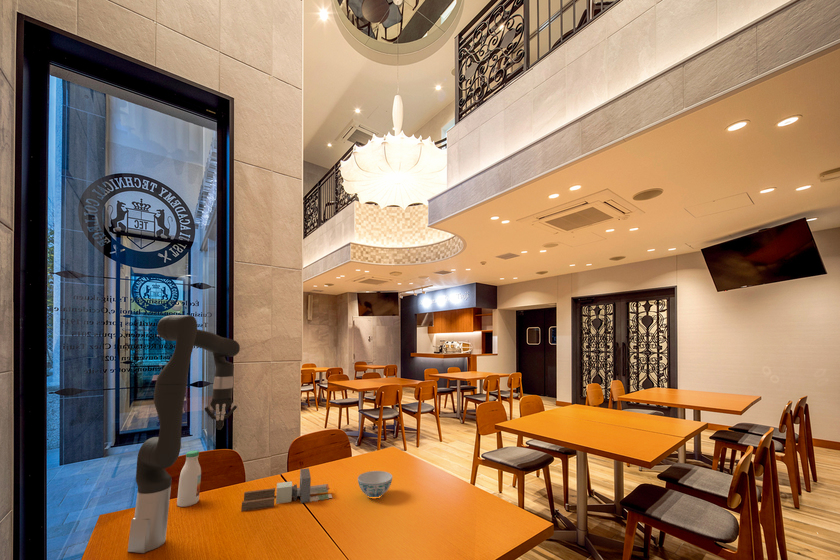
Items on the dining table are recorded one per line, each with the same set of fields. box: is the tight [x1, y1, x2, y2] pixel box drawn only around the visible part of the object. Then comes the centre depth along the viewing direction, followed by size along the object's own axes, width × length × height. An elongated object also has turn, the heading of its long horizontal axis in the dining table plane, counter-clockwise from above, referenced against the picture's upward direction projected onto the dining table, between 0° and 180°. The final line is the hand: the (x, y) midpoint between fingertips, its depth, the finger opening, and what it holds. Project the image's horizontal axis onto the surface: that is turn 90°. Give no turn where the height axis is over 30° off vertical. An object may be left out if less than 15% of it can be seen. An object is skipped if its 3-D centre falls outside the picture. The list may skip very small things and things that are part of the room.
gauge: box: [240, 467, 333, 512], centre depth 156 cm, size 35×13×9 cm, turn 110°
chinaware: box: [357, 470, 393, 497], centre depth 159 cm, size 15×15×8 cm
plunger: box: [293, 483, 330, 501], centre depth 158 cm, size 14×8×4 cm, turn 110°
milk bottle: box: [176, 449, 202, 508], centre depth 153 cm, size 8×8×20 cm
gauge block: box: [275, 480, 294, 505], centre depth 155 cm, size 7×6×6 cm
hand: (219, 429), depth 156 cm, fingers closed
